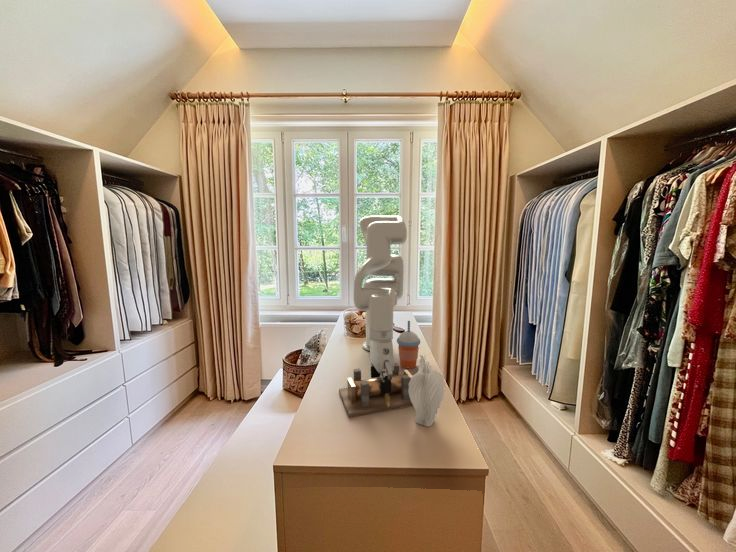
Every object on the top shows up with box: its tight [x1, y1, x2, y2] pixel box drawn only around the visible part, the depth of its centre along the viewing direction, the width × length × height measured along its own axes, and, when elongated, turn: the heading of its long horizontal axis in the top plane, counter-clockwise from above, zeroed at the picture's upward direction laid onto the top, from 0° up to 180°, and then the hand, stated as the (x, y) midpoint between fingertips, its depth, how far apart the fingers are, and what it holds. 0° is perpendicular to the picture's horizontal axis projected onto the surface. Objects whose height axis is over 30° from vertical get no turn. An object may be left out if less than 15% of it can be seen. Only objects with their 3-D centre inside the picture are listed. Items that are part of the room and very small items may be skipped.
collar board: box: [338, 363, 414, 418], centre depth 93 cm, size 14×24×8 cm, turn 107°
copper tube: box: [346, 369, 413, 404], centre depth 93 cm, size 20×6×6 cm, turn 107°
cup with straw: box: [396, 320, 421, 369], centre depth 115 cm, size 9×9×18 cm
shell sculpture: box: [408, 354, 446, 427], centre depth 80 cm, size 8×8×18 cm
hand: (380, 384), depth 94 cm, fingers open, 9 cm apart
